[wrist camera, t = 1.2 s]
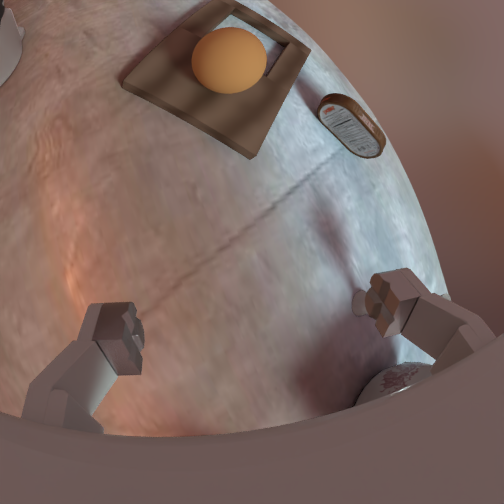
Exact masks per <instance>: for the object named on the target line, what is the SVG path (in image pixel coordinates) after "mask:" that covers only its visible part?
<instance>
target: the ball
mask: <svg viewBox="0 0 504 504" xmlns="http://www.w3.org/2000/svg"><path fill="white" fill-rule="evenodd" d="M266 63H267V56H266V51H265V48H264V46H263V44H262V43H261V41H260V40H259V39H258V38H257V37H256V36H255V35H253V34H252V33H250V32H249V31H246V30H244V29H240V28H234V27H226V28H220V29H217V30H214V31H212V32H210V33H208V34H207V35H205V36H204V37H203V38H202V39H201V40H200V41H199V42H198V43H197V45H196V47H195V49H194V51H193V54H192V69H193V72H194V74H195V76H196V78H197V79H198V81H199V82H200V83H201V84H202V85H203V86H205V87H206V88H208V89H210V90H212V91H214V92H218V93H224V94H232V93H238V92H242V91H244V90H247V89H248V88H250V87H252V86H253V85H254V84H255V83H257V82H258V80H259V79H260V78H261V77H262V75H263V73H264V71H265V68H266Z"/></svg>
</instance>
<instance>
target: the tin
mask: <svg viewBox="0 0 504 504" xmlns="http://www.w3.org/2000/svg"><path fill="white" fill-rule="evenodd" d="M317 114H318V118H319V120H320V121H321V123H322V124H323V125H324V126H325V127H326V128H327V129H328V130H329V131H330V132H331V133H332V134H333V135H334V136H335V137H336V138H337V139H338V140H339V141H340V142H341V143H342V144H343V145H344V146H345V147H346V148H347V149H348V150H349V151H350V152H352V153H353V154H355V155H357V156H359V157H362V158H366V159H370V158H376V157H378V156H380V155H381V154H382V152H383V149H384V147H385V145H386V138H385V135H384V133H383V132H382V131H381V129H380V128H379V127H378V126H377V125H376V123H375V122H374V121H373V120H372V119H371V118H370V117H369V115H368V114H367V113H366V112H365V111H364V110H363V109H362V107H361V106H360V105H359V104H358V103H357V102H356V101H355V100H353V99H352V98H350V97H348V96H346V95H343V94H338V93H332V94H328V95H326V96H325V97H323V99H322V100H321V103H320V105H319V107H318V110H317Z"/></svg>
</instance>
